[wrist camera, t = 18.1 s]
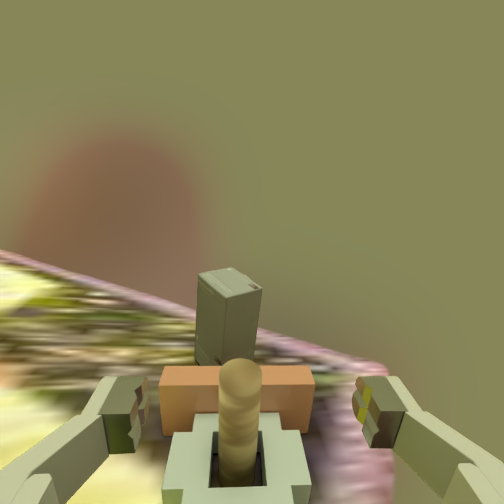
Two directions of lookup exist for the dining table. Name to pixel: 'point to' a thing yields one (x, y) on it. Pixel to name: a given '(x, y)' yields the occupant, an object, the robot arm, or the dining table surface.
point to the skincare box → (226, 317)
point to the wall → (207, 395)
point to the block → (236, 498)
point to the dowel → (238, 422)
